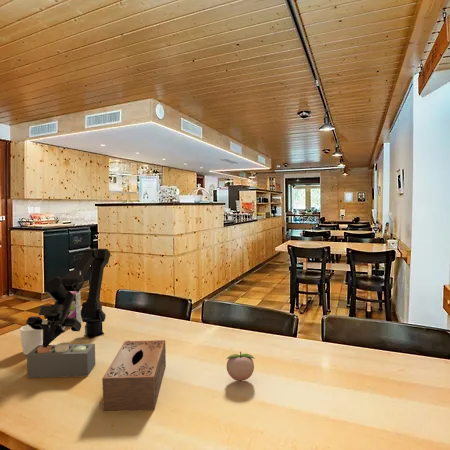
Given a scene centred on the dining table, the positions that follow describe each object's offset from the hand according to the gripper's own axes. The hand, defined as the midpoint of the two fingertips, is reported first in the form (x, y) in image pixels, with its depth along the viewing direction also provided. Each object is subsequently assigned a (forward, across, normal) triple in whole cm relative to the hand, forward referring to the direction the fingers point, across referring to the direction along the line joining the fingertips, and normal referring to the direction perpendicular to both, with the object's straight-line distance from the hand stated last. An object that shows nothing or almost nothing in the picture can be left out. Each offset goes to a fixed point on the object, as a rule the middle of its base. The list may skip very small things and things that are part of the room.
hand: (44, 346), depth 118 cm
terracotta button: (+3, 0, +4) cm, 5 cm away
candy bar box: (-26, -19, +39) cm, 50 cm away
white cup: (-4, -16, +17) cm, 24 cm away
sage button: (+2, +12, +6) cm, 13 cm away
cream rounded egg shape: (+2, +6, +4) cm, 7 cm away
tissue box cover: (+10, +36, +3) cm, 38 cm away
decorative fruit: (+6, +69, +8) cm, 70 cm away
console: (+6, +6, +7) cm, 11 cm away
